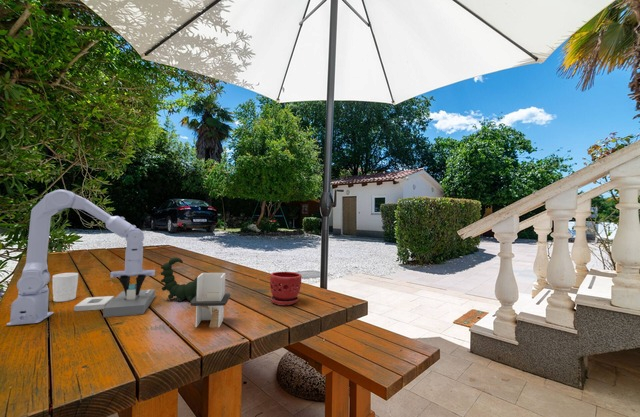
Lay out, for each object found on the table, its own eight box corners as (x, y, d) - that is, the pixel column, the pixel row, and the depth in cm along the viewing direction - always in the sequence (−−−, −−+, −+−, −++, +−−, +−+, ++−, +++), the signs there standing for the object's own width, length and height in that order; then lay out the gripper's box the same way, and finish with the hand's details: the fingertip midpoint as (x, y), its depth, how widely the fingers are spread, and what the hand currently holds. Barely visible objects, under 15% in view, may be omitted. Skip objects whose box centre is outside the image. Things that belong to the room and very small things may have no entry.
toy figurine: (158, 307, 114) (220, 303, 114) (155, 260, 114) (217, 256, 115) (170, 299, 124) (227, 296, 124) (168, 256, 124) (225, 253, 124)
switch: (143, 314, 101) (143, 304, 102) (103, 317, 97) (103, 307, 97) (155, 296, 122) (155, 288, 122) (122, 298, 118) (122, 290, 118)
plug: (134, 305, 108) (135, 286, 108) (126, 306, 107) (127, 286, 107) (137, 302, 112) (138, 283, 112) (129, 302, 111) (130, 283, 111)
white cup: (65, 302, 111) (66, 277, 111) (45, 302, 111) (46, 276, 111) (82, 296, 119) (83, 273, 119) (64, 296, 119) (65, 272, 119)
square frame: (104, 309, 105) (104, 304, 105) (74, 311, 102) (74, 306, 102) (113, 300, 115) (114, 295, 115) (86, 302, 112) (86, 297, 112)
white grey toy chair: (154, 341, 81) (156, 284, 81) (182, 312, 105) (183, 268, 105) (243, 338, 85) (245, 283, 85) (251, 310, 109) (252, 268, 109)
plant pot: (295, 308, 112) (296, 278, 113) (264, 305, 115) (265, 275, 115) (304, 299, 125) (304, 271, 125) (275, 296, 128) (276, 269, 128)
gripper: (157, 257, 116) (155, 290, 116) (115, 258, 111) (113, 293, 111) (153, 260, 110) (152, 295, 109) (108, 261, 104) (107, 298, 104)
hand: (132, 294), depth 110 cm, fingers closed on plug, 3 cm apart
